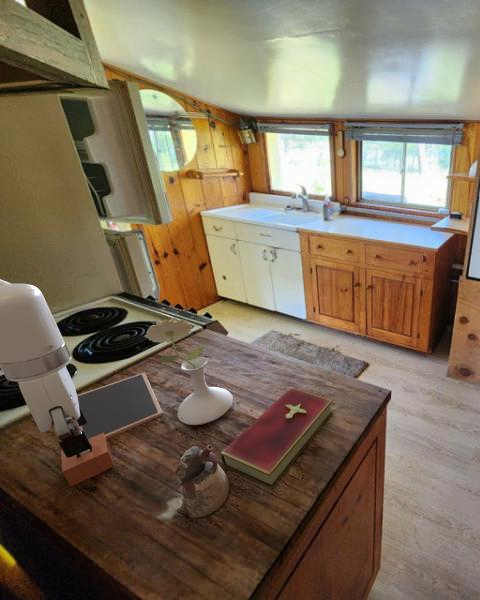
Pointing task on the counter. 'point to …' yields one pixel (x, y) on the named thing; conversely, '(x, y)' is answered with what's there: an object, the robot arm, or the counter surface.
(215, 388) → the flower in vase
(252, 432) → the hardcover book
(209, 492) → the figurine
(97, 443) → the block
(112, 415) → the framed chalkboard
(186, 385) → the counter surface
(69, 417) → the light grey square peg
